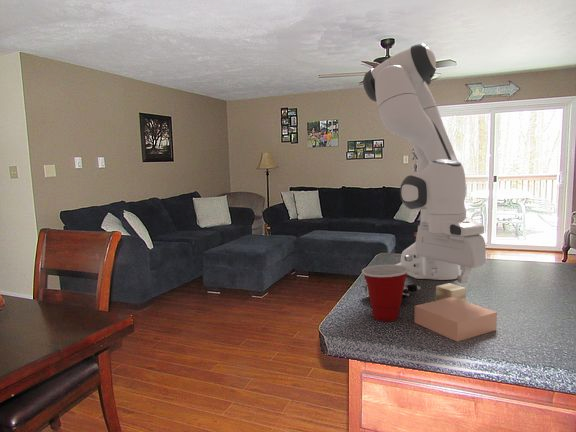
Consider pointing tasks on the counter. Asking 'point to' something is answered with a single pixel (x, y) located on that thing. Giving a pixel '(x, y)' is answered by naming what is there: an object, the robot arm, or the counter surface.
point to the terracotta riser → (455, 318)
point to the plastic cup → (385, 290)
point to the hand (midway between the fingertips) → (447, 278)
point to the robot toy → (405, 291)
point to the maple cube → (450, 292)
